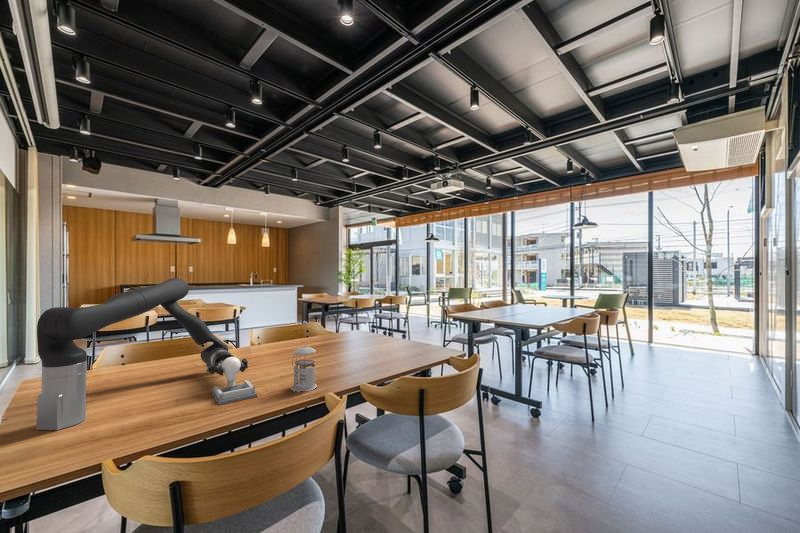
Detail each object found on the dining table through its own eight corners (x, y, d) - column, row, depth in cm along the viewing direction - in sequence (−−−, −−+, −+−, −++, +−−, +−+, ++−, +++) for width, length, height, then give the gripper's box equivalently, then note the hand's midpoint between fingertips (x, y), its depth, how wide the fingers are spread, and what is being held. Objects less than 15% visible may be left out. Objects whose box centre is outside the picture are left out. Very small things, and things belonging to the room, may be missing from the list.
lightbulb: (238, 389, 122) (239, 358, 122) (219, 391, 120) (219, 359, 120) (242, 383, 128) (242, 354, 128) (223, 384, 126) (223, 355, 126)
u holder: (257, 396, 119) (257, 388, 119) (219, 405, 112) (219, 395, 112) (246, 386, 130) (246, 378, 130) (211, 392, 123) (211, 384, 123)
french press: (301, 394, 122) (302, 324, 122) (282, 387, 129) (283, 321, 129) (323, 386, 130) (323, 321, 130) (304, 380, 137) (304, 318, 137)
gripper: (202, 353, 131) (210, 363, 118) (242, 348, 140) (254, 357, 127) (201, 373, 131) (210, 385, 118) (241, 367, 140) (253, 377, 127)
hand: (232, 370), depth 122 cm, fingers closed on lightbulb, 6 cm apart
